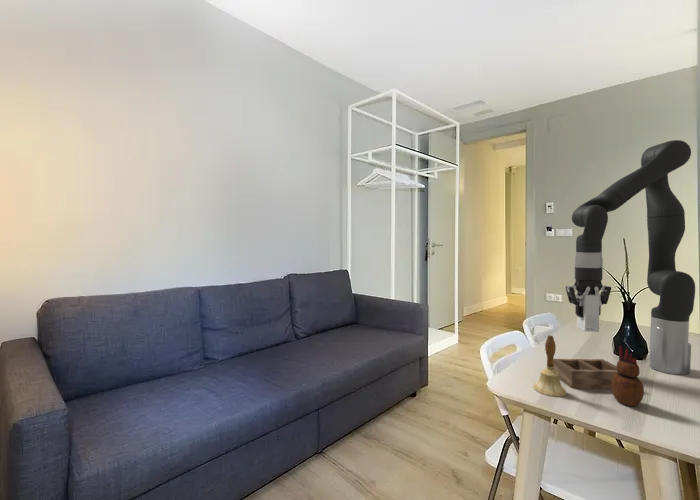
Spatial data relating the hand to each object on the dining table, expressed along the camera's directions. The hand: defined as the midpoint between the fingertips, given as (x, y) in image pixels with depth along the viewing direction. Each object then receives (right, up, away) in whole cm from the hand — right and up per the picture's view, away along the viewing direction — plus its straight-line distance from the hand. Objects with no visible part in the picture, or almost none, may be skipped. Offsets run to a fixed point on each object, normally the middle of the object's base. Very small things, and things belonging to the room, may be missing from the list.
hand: (587, 316), depth 113 cm
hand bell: (-22, -19, -15) cm, 32 cm away
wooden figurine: (-6, -19, -23) cm, 30 cm away
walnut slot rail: (-6, -18, -9) cm, 21 cm away
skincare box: (0, -5, 0) cm, 5 cm away
